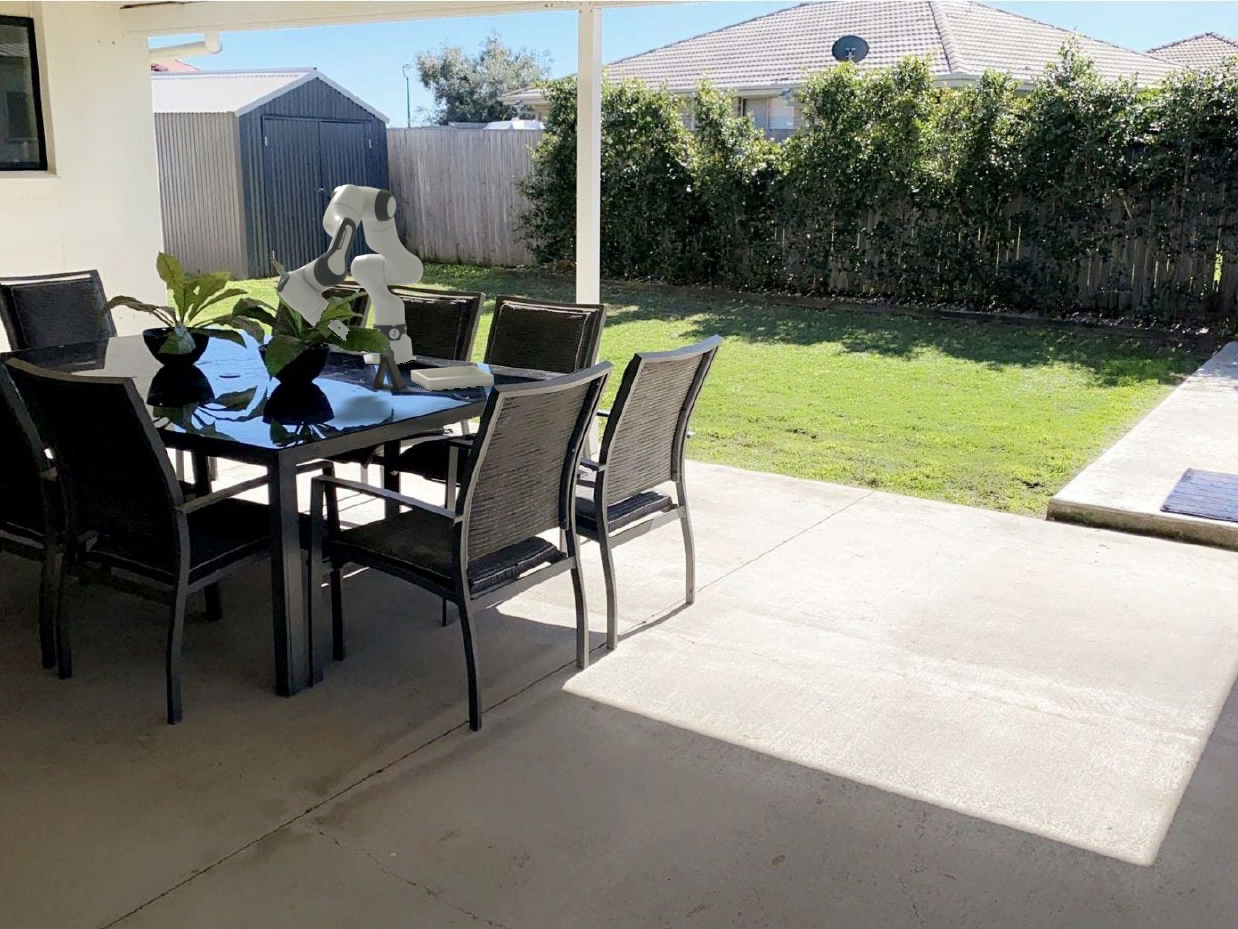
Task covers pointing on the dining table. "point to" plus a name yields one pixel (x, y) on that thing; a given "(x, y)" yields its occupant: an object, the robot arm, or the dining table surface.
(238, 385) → the dining table surface
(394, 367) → the dark brown triangular stand
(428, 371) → the tray
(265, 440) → the dining table surface
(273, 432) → the dining table surface
